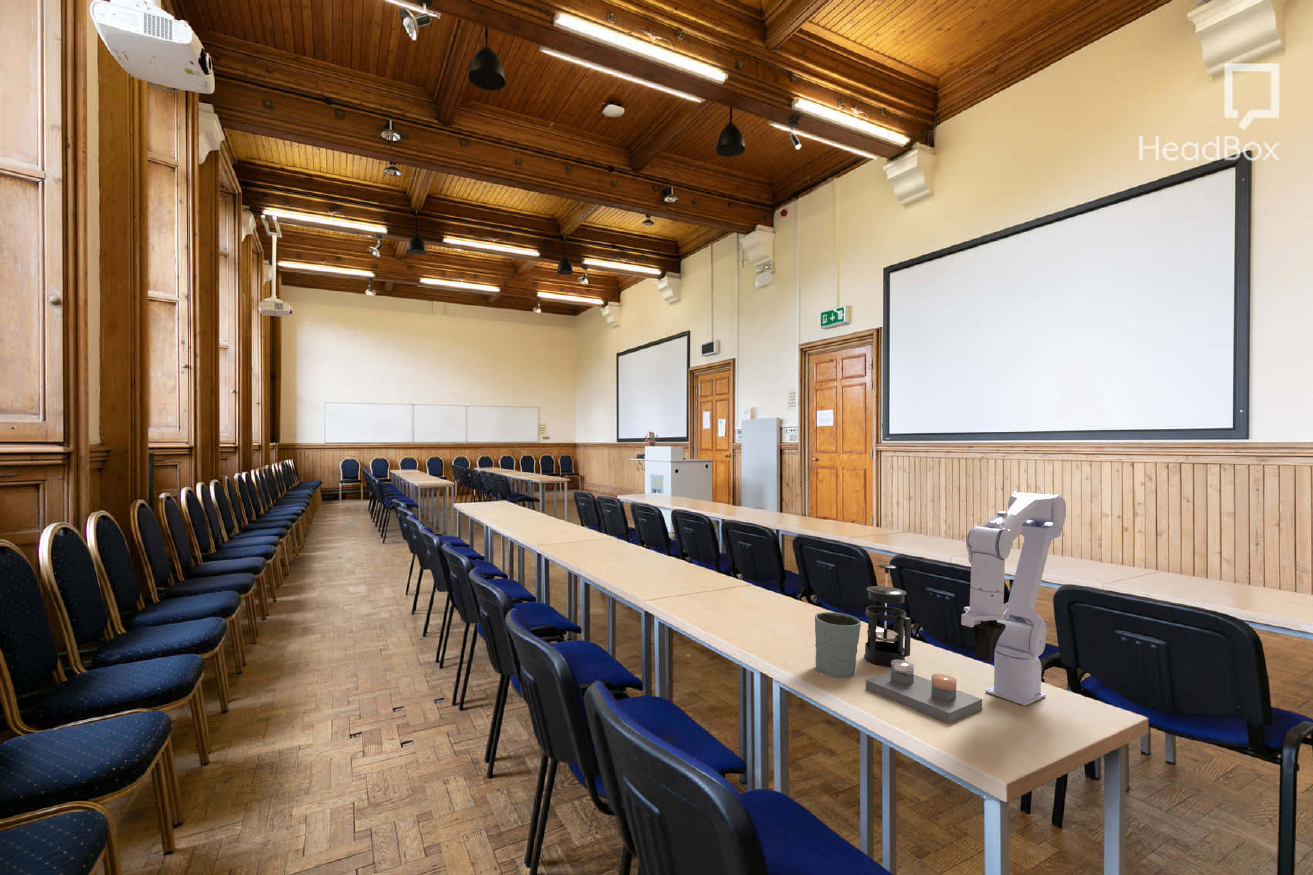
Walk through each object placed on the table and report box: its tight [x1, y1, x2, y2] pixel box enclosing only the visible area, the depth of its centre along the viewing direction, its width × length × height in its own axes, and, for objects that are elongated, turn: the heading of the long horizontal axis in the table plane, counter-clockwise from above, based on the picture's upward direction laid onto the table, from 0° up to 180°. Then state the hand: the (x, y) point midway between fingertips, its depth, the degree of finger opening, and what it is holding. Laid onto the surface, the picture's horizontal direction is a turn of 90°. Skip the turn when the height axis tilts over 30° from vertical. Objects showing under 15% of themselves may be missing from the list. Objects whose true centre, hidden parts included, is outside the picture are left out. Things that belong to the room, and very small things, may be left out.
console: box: [865, 670, 983, 725], centre depth 120 cm, size 12×18×4 cm, turn 35°
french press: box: [863, 563, 912, 668], centre depth 142 cm, size 12×9×23 cm
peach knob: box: [931, 673, 957, 691], centre depth 117 cm, size 4×4×6 cm
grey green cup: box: [814, 611, 862, 679], centre depth 134 cm, size 10×10×12 cm
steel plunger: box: [890, 659, 915, 675], centre depth 124 cm, size 4×4×6 cm
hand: (984, 659), depth 115 cm, fingers closed
